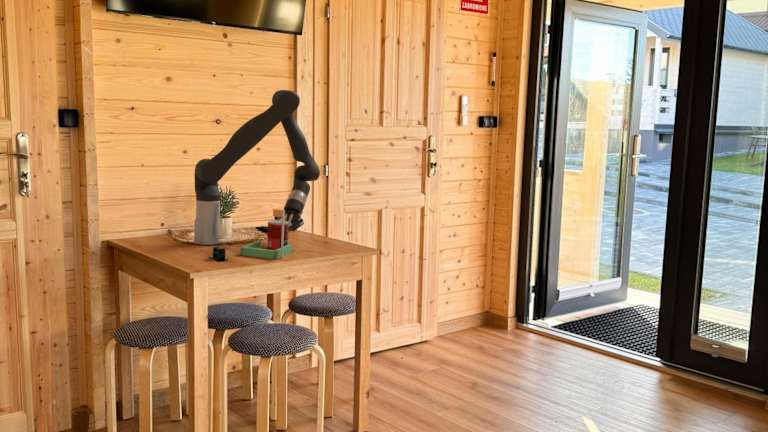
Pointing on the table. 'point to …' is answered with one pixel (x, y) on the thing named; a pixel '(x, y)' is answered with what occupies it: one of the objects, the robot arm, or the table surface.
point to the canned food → (276, 234)
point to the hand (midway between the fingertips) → (282, 238)
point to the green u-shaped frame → (256, 250)
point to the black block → (218, 254)
